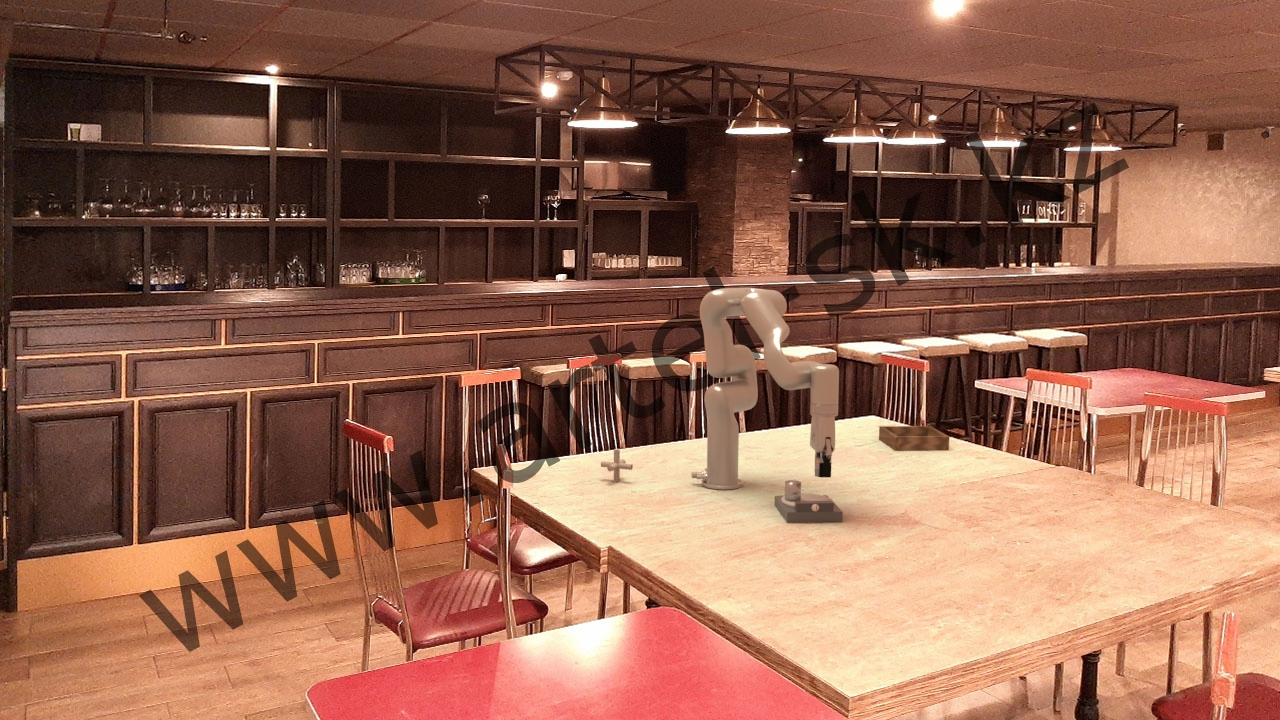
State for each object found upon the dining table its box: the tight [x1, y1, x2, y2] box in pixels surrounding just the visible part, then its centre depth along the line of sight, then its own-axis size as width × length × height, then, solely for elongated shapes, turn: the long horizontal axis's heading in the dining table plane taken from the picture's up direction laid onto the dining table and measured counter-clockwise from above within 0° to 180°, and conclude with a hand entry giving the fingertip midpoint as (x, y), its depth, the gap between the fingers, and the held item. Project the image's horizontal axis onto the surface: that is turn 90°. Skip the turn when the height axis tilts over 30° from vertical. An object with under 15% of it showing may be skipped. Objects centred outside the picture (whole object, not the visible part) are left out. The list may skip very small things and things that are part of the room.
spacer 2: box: [814, 456, 824, 478], centre depth 283 cm, size 4×4×5 cm
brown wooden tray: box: [878, 425, 950, 452], centre depth 373 cm, size 19×19×5 cm
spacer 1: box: [784, 479, 802, 502], centre depth 284 cm, size 4×4×5 cm
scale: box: [774, 492, 844, 524], centre depth 283 cm, size 15×17×5 cm
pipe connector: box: [600, 448, 634, 483], centre depth 317 cm, size 10×10×10 cm
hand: (822, 474), depth 283 cm, fingers closed on spacer 2, 4 cm apart
